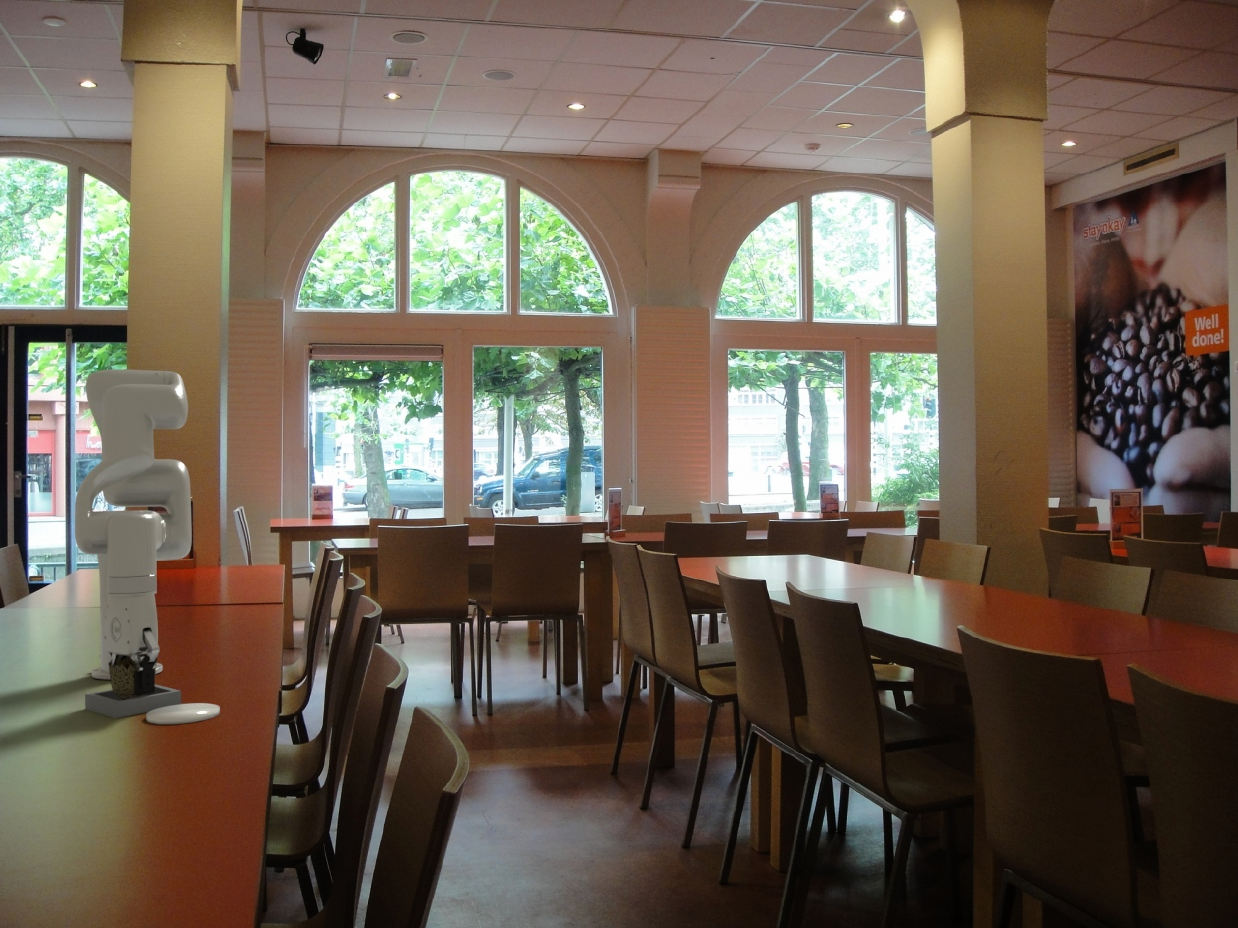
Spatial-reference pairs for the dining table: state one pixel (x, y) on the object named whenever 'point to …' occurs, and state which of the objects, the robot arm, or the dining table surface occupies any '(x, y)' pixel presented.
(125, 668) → the ornate bronze lamp shade
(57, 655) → the dining table surface
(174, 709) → the coaster
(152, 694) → the pocket frame
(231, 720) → the dining table surface
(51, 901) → the dining table surface
